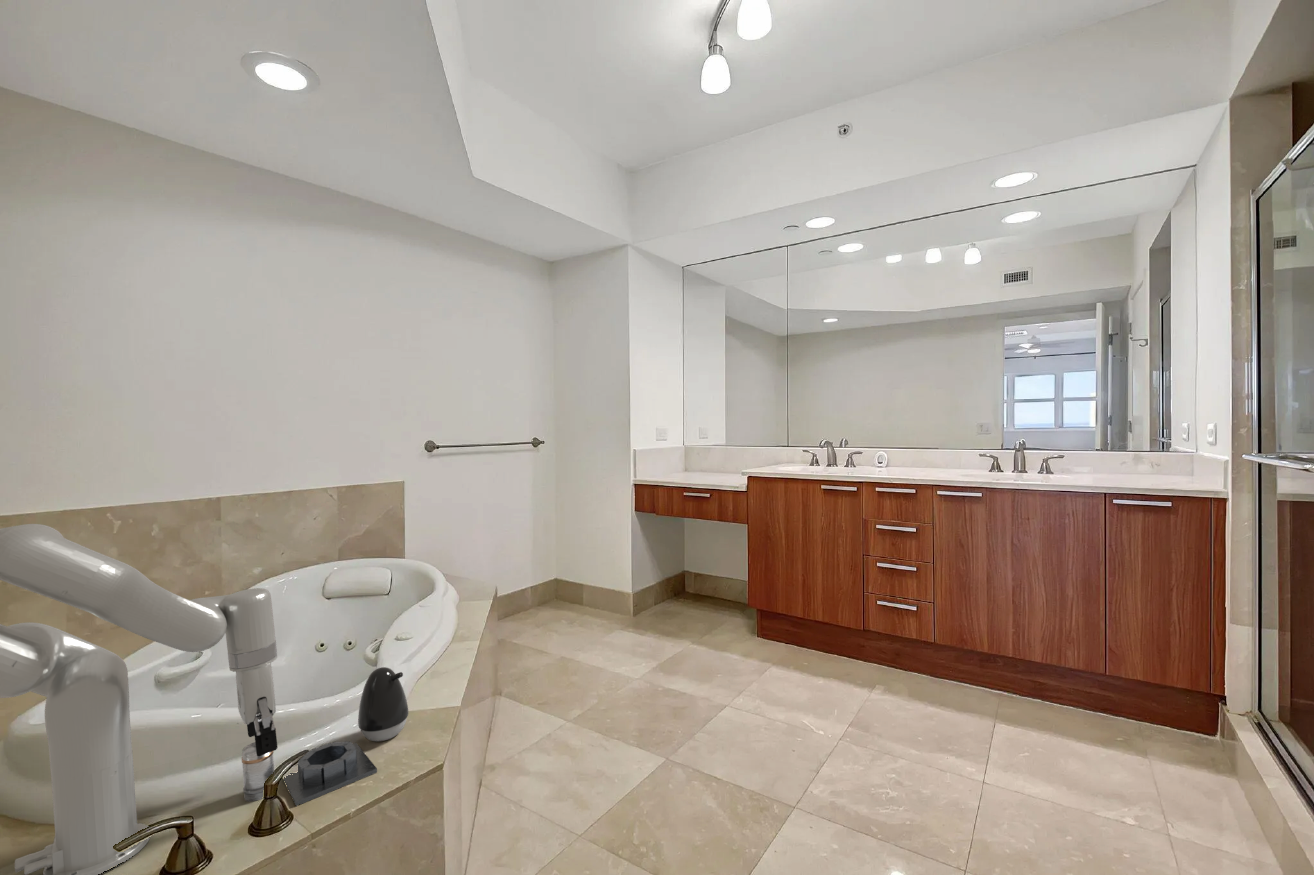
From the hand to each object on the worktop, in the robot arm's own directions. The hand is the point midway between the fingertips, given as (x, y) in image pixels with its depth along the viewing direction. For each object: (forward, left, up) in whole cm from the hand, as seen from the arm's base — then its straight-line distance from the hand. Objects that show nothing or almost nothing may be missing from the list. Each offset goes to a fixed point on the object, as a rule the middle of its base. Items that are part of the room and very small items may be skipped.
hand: (262, 742), depth 110 cm
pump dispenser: (+23, +4, -10) cm, 25 cm away
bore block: (+10, -3, -9) cm, 14 cm away
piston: (-1, 0, -9) cm, 9 cm away
